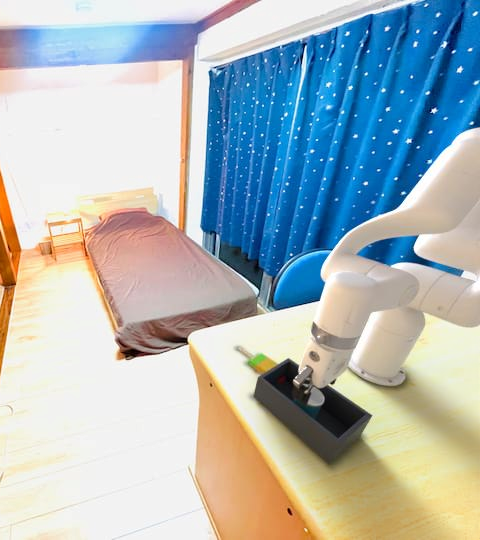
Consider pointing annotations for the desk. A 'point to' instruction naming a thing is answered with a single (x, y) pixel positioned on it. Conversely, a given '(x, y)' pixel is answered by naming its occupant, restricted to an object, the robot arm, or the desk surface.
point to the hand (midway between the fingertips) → (312, 389)
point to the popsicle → (261, 363)
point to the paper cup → (312, 403)
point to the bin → (304, 426)
